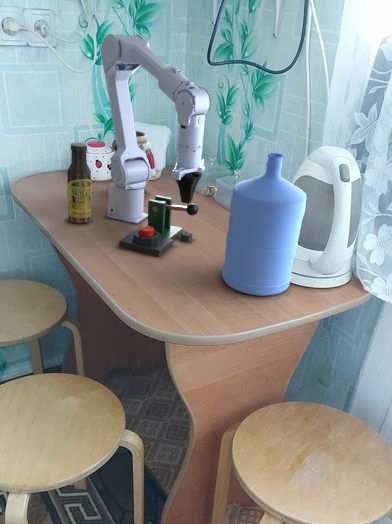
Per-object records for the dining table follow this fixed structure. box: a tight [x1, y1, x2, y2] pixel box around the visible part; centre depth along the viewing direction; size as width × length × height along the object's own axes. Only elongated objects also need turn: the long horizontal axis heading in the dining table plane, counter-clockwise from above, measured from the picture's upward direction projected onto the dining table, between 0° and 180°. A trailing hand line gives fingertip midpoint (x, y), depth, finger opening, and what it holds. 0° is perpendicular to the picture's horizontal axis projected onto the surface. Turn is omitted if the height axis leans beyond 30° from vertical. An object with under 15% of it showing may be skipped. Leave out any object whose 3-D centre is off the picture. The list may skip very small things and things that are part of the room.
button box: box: [118, 228, 174, 258], centre depth 128 cm, size 11×8×4 cm
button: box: [138, 225, 154, 237], centre depth 127 cm, size 4×4×2 cm
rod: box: [156, 200, 199, 217], centre depth 131 cm, size 12×3×3 cm, turn 68°
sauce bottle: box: [66, 142, 92, 224], centre depth 135 cm, size 6×6×20 cm
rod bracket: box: [135, 194, 184, 241], centre depth 134 cm, size 10×9×9 cm
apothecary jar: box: [111, 130, 152, 197], centre depth 158 cm, size 12×12×18 cm
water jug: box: [221, 152, 307, 297], centre depth 110 cm, size 16×16×28 cm
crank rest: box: [179, 231, 193, 243], centre depth 134 cm, size 2×2×2 cm
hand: (186, 202), depth 128 cm, fingers closed
